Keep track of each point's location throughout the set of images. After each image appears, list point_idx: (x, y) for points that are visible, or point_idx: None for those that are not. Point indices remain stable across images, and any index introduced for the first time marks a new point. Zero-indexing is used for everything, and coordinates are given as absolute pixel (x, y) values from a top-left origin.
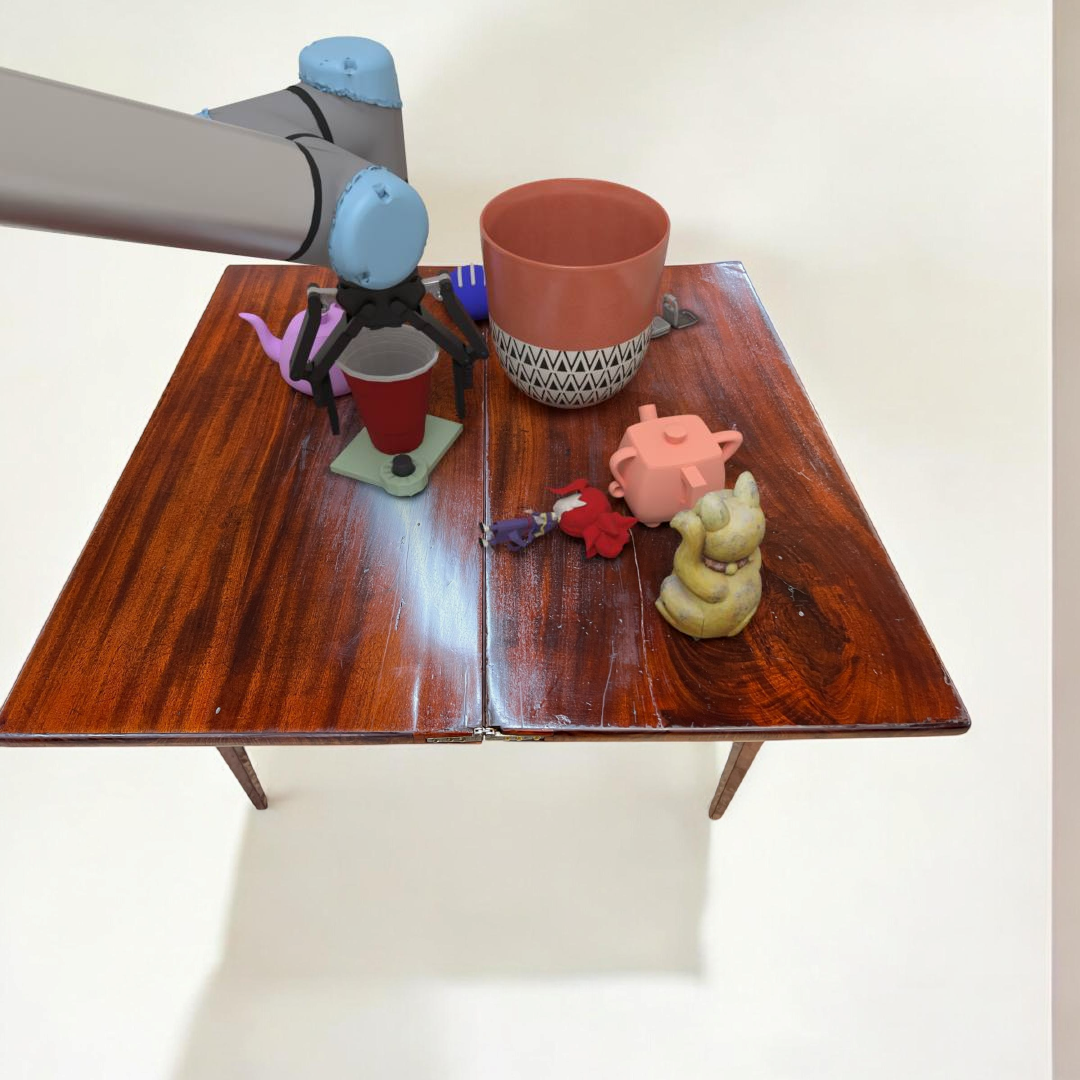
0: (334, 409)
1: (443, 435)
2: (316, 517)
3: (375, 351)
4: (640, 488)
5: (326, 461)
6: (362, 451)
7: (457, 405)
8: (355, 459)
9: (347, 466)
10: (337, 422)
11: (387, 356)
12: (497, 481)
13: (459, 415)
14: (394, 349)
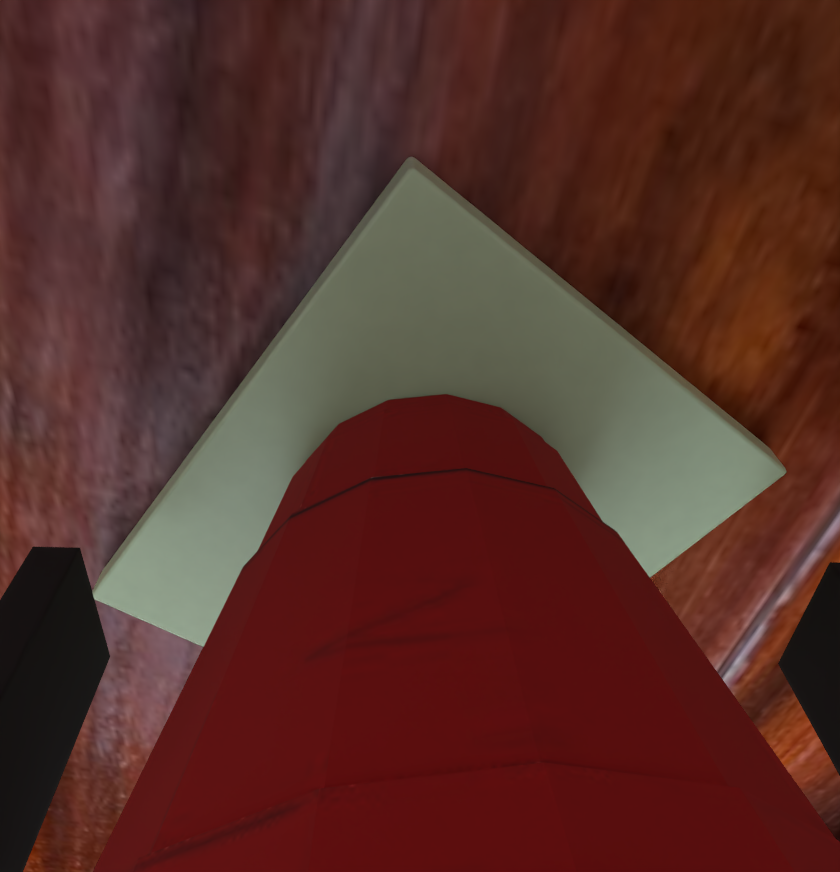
0: (32, 844)
1: (658, 525)
2: (85, 736)
3: (385, 819)
4: None
5: (68, 509)
6: (243, 552)
7: (828, 713)
8: (210, 589)
9: (175, 619)
10: (77, 734)
11: (524, 731)
12: (744, 707)
13: (795, 689)
14: (648, 817)
